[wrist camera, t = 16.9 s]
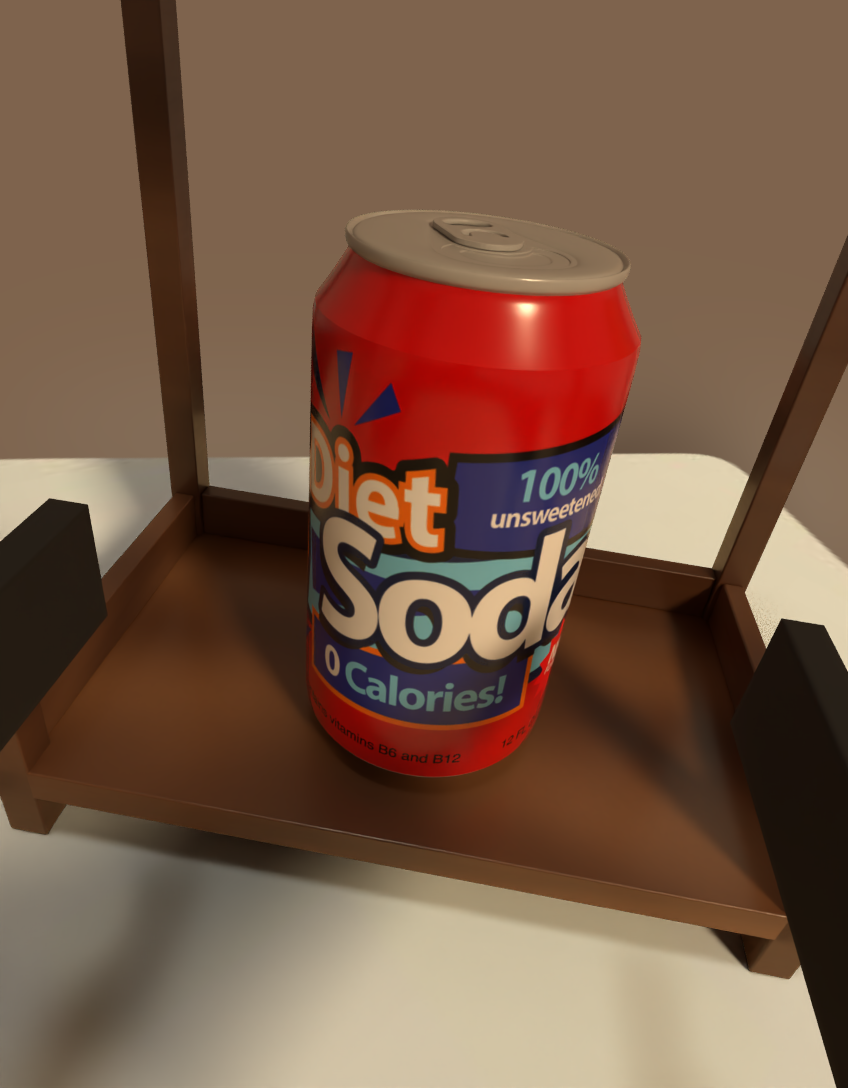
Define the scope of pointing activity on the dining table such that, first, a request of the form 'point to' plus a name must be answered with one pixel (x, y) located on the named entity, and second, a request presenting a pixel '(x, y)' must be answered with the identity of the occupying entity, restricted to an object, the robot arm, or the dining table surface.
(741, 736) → the robot arm
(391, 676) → the soda can
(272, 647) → the shelf stand
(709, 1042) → the dining table surface
